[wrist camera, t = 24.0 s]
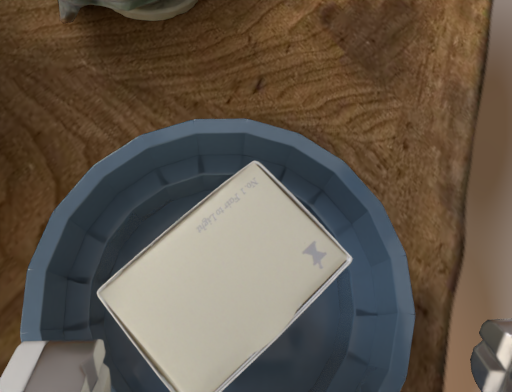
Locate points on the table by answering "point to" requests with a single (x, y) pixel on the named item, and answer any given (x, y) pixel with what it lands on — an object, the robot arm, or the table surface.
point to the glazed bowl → (184, 199)
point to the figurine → (129, 8)
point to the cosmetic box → (223, 282)
